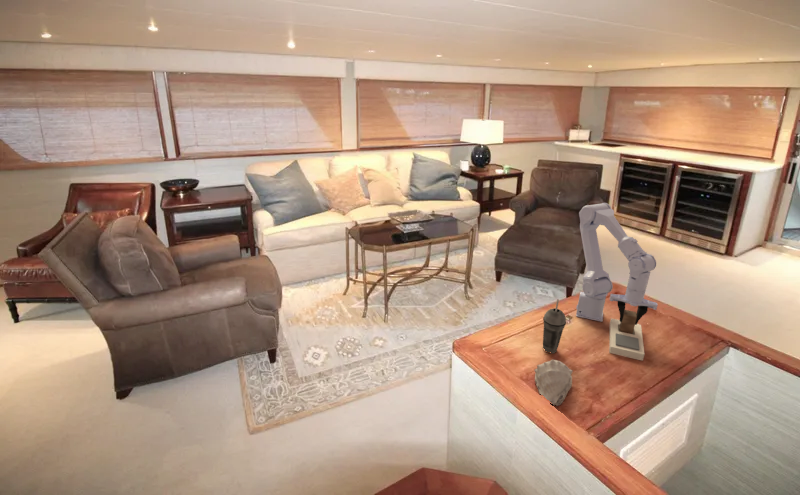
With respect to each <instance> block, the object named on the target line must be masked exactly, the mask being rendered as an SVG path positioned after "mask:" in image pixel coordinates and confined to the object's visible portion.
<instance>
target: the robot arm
mask: <svg viewBox="0 0 800 495" xmlns="http://www.w3.org/2000/svg"><path fill="white" fill-rule="evenodd" d="M578 216H579V222H580V223H579V231H580V235H581V242H582V249H583V253H584V259H585V264H586V271H587V272H586V273H585V274H584V276H582V291H579V292H580V293H579V295H578V296H579V297H578V301H577V302H578V303H577V304H576V307H575V309H576V314H575V316H576V317H578V318H583V319H588V320H593V321H597V322H603V320H604V308H605V303H606V298H607V296H608V294H609V293H610V292H612V290H613V287H614V286H613V282H612V280H611V278H610V275H609V273H608V272H606V271H605V270H604V268H603V262H602V256H601V252H600V251H601V250H600V249H601V248H600V244H599V239H598V233H597V229H598V228H599V227H600V226H604V227H605V228H606V230H607V231H608V232H610V234H611V235H612V236H613V238H614V239H615V240H616V241H617V242H618V244H617V248H618V249H619V250H620V252H621V253H622V254H623V255H624V257H625V258H626V259H627V261H628V269H629V277H628V282H627V286H626V291H625V294H615V293H610V296H609V301H610V302H617V308H618V311H619V312H618V313H619V320H620V322H622V320H623V314H624V310H626V304H629V305H630V306H631V307H637V309H636V310H637V311H636V314H637V318H636V322H635V325H637V324H639V321H640V319H641V318H643V316H644V315H646V314H647V312H648V311H649V310H648V308H649V309H652V310H654V311H657V308H658V302H656V301H652V300H648V299H645V295H646V291H647V287H648V282H649V280H650V276H651V271H653V270H655V268H657V260H656V258H655V256H654V255H652V254H650V253H647V251H645V250H644V249H643V247H641V245H640V244H639V243H638V240H637V239H636V238H635V237H633V236H629V235H628V234H627V233H626V232H625V230H624V229H623V227H622V225H621V224H620V223H619V221H618V219H617V218H616V217H615V210H614V209H613V208H612V207H611V205H610V204H609V203H607V202H602V203H597V204H596V203H595V204H590V205H589V204H587V205H584V206H583V207H582V208H581V209H580V210H579V212H578Z"/></svg>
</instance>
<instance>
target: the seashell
mask: <svg viewBox="0 0 800 495" xmlns="http://www.w3.org/2000/svg"><path fill="white" fill-rule="evenodd" d="M533 372H535V373H534V382H535V385H536V388H537V391H538V393H539V395H540V394H541V395H543V396H544V397H545V398H546V399H547V400H549V401H550V402H551V403H552V404H553V405H552V406H555V405H556V406H555V407H558V406H560V405H562V404H563V402H564V401H565V398H566V397H567V395H568V392H570V390H571V388H572V386H573V376H572V374H573V372H574V371H573V370H572V369H571V368H569V366H567V365H566V363H564V362H562V361H560V360H557V359H551V360H548V361H544V362H542V363H541V364H537V365H536V368H534V371H533ZM541 395H540V396H541Z"/></svg>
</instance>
